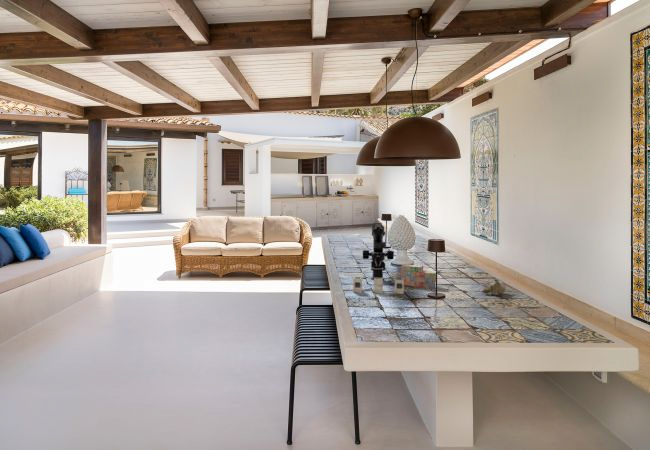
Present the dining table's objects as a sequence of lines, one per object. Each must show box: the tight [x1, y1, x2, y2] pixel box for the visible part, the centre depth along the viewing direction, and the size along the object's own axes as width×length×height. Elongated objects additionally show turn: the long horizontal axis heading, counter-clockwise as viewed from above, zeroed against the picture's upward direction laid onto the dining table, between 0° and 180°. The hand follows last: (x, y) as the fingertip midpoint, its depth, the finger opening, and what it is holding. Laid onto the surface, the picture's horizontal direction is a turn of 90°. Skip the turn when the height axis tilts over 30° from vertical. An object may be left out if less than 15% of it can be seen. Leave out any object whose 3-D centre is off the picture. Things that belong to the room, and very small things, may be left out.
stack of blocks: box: [400, 263, 437, 289], centre depth 298 cm, size 21×6×12 cm, turn 62°
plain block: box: [373, 277, 384, 294], centre depth 281 cm, size 5×5×8 cm
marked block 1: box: [352, 276, 363, 294], centre depth 282 cm, size 5×5×8 cm
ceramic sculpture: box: [481, 279, 506, 296], centre depth 276 cm, size 11×9×15 cm
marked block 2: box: [394, 277, 405, 295], centre depth 280 cm, size 5×5×8 cm
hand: (378, 266), depth 289 cm, fingers closed
